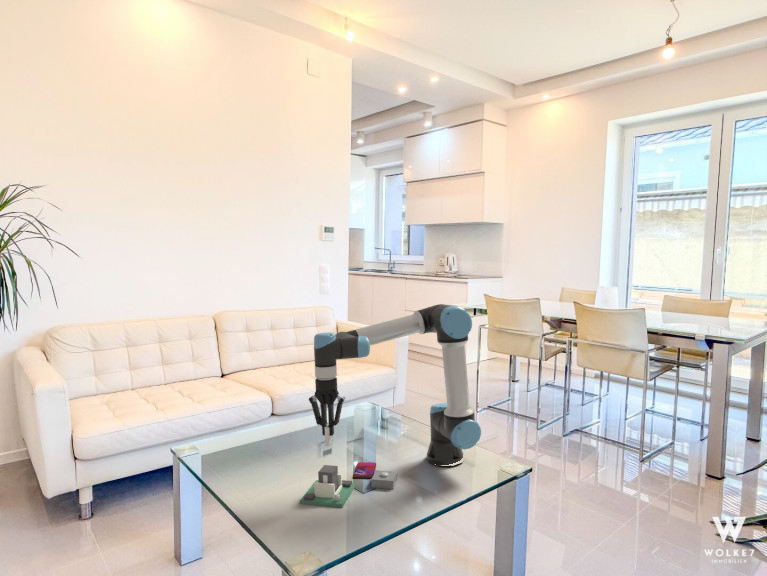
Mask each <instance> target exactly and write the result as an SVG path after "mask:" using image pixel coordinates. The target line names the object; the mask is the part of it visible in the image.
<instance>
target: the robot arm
mask: <svg viewBox="0 0 767 576" xmlns="http://www.w3.org/2000/svg"><path fill="white" fill-rule="evenodd" d="M472 327H473V320H472V316H471V315H470V313H469V312H468V311H467V310H466V309H465V308H463V307H462V306H458V305H454V304H453V305H452V304H443V303H440V304H435V305H431V306H428V307H425V308H422V309H418V310H415V311H414V312H413V313H411V314H410V315H405V316H402V317H399V318H394V319H390V320H386V321H382V322H379V323H375V324H371V325H368V326H364V327H359V328H356V329H353V330H349V331H339V332H336V333H334V332H319V333H316V334H315V335H314V338H313V355H314V377H315V380H314V381H315V392H314V394H313V395H312V396H310V397H309V398H308V401H309V403H310V404H311V407H312V412H313V415H314V419H315V423H316V425H317V426H321V430H322V431H321V433H322V434H321V435H322V436H324V441H325V443H324V445H325V446H327V447H331V445H332V444H333V442H332V441H333V439H332V437H333V436H334V434H335V427H336V426H337V425H339V423H340V420H341V419H340V418H341V415H342V408H343V404H344V402H345V401H346V397H345V396H341V395H340V392H339V391H338V378H337V376H338V374H337V373H338V372H337V370H338V369H337V368H338V367H337V361H338V360H348V359H362V358H366V357H368V356H369V355H370V353H371V352H370V351H371V346H374V345H378V344H381V343H387V342H388V341H389V342H390V341H393V340H395V339H400V338H403V337H404V338H405V337H407V336H410V335H415V334H420V335H424V334H431V333H434V334H436V341H437V344H439V345H440V346H441V349H442V350H441V351H442V362H443V363H442V364H443V374H444V376H443V377H444V384H445V387H444V388H445V398H446V402H441V403H435V404H432V405H431V407H430V411H429V412H430V413H429V415H430V423H429V424H430V442H429V446H428V449H427V452H426V461H427V463H429V464H431V463H432V464H431V465H433V464H436V465H449V464H453V463H456V462H458V461H460V460H461V459H462V458H463V455H464V452H463V450H469V449H472V448H473V447H475V446H476V445H477V443H478V442H480V438H481V436H482V427H481V425H480V424H479V423H478V421H476V415H475V409H474V408H473V407H472V406H471V404H470V395H469V394H470V393H469V381H468V370H467V358H466V346H465V344H467V342H468V341H469V334H470V332H471V331H472V329H473V328H472ZM336 400H337V405H336V410H335V411H334V405H335V402H336ZM318 402H319V404H320V405H318ZM319 406H320V408H319ZM334 413H335V414H334ZM436 465H435V466H436Z"/></svg>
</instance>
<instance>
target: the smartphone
mask: <svg viewBox="0 0 767 576" xmlns="http://www.w3.org/2000/svg"><path fill="white" fill-rule="evenodd" d="M376 466H377V463H376V462H375V461H374V462H371V461H370V462H369V461H368V462H367V461H366V462H365V461H364V462H362V461H361V462H357V464H356V467H355V469H354V472H353V475H352V478H353V479H354V480H360V479H361V480H371V479H372V477H373V475H374V474H375V472H376Z"/></svg>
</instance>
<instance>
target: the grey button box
mask: <svg viewBox="0 0 767 576" xmlns="http://www.w3.org/2000/svg"><path fill="white" fill-rule="evenodd" d="M370 480H371V481H370V483H371V488H374V489H385V490H386V489H387V490H394V488H395V487H396V484H397V481H398V471H390V470H376V469H375V471H374V475H373V477H372V479H370Z"/></svg>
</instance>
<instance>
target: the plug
mask: <svg viewBox="0 0 767 576" xmlns="http://www.w3.org/2000/svg"><path fill="white" fill-rule="evenodd" d="M338 470H339V469H338V465H331V464H330V465H329V464H324V465H322V466H321V468H320V469H319V470H318V472H317V474H318V479H317V480H319V483H330V484H335V492H336V490H337V489H338V474H339V472H338Z"/></svg>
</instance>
